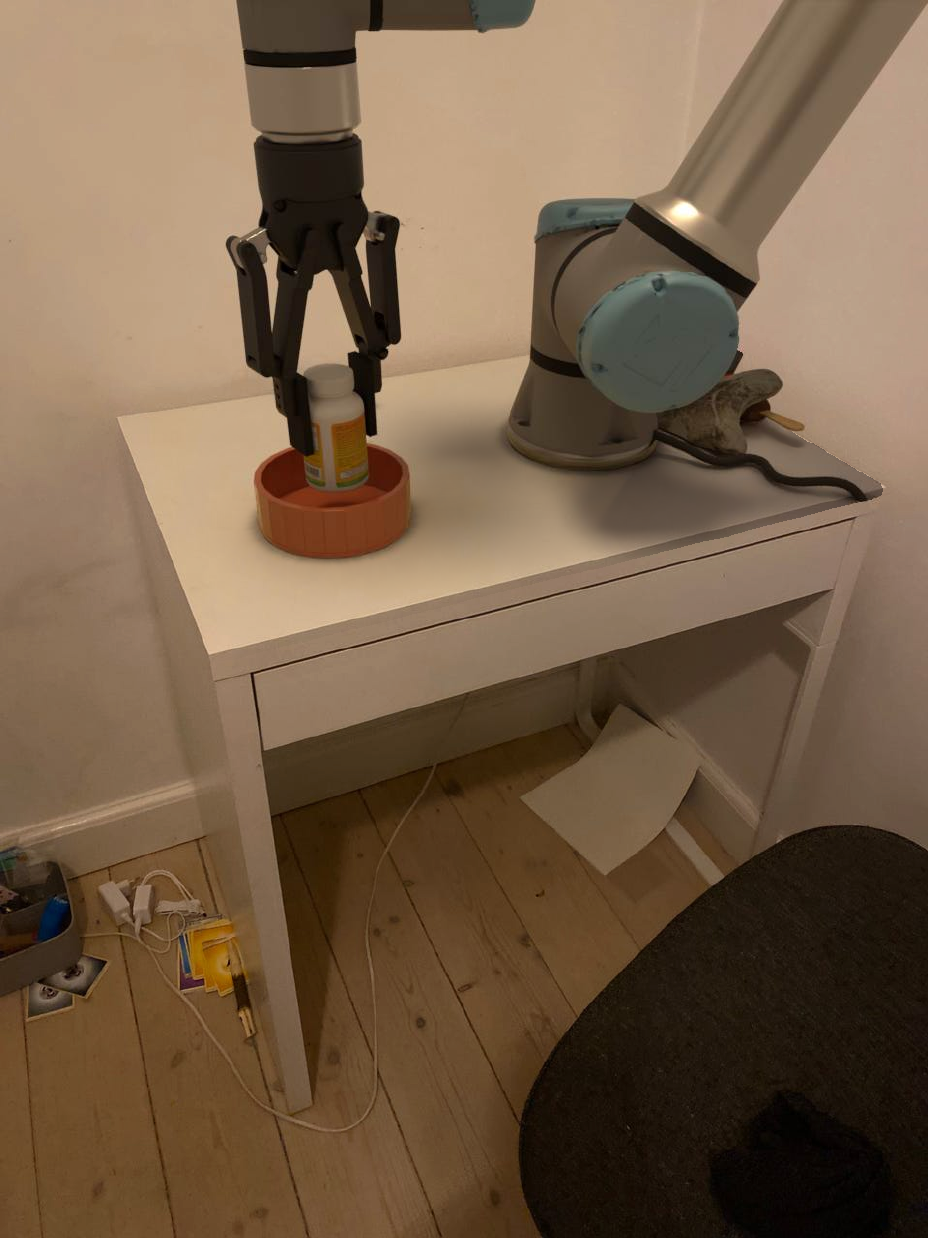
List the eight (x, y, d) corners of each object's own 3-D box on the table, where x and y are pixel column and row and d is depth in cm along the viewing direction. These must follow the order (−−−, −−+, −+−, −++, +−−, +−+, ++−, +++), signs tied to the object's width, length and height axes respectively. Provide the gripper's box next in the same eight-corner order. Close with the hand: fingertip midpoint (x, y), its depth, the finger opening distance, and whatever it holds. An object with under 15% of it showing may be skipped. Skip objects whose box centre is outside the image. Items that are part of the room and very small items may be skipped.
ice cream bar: (772, 452, 96) (679, 400, 107) (811, 443, 98) (715, 393, 109) (779, 421, 94) (684, 372, 105) (819, 414, 96) (721, 365, 107)
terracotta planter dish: (434, 500, 87) (434, 455, 84) (367, 572, 77) (365, 524, 74) (308, 473, 91) (304, 429, 88) (229, 538, 81) (222, 491, 79)
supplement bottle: (374, 467, 84) (367, 360, 78) (362, 496, 80) (355, 385, 74) (314, 464, 84) (303, 358, 79) (299, 493, 80) (287, 383, 74)
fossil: (644, 347, 104) (776, 349, 95) (658, 374, 108) (787, 379, 98) (604, 431, 101) (735, 442, 92) (620, 456, 105) (748, 469, 95)
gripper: (387, 113, 73) (400, 399, 87) (159, 139, 64) (213, 453, 78) (445, 126, 68) (449, 426, 82) (207, 156, 59) (255, 488, 73)
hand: (334, 439), depth 80 cm, fingers closed on supplement bottle, 5 cm apart
